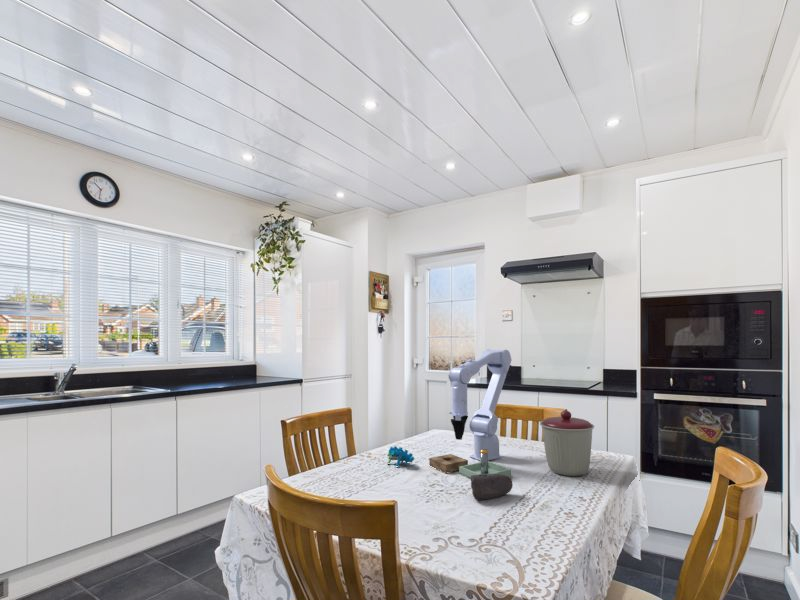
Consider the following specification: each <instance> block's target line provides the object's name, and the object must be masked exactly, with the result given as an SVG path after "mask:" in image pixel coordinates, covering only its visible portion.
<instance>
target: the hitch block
mask: <svg viewBox="0 0 800 600" xmlns="http://www.w3.org/2000/svg"><path fill="white" fill-rule="evenodd" d="M428 459H429V461H428V462H429V463H428V464H429V465H430V466H432V467H434V468H436V469H435V470H437V469H439V470H441V471H443V472H445V473H444V474H448V473H447V472H451V473H454V472H453V471H456V472H458V471H457V470H459V467H460V466H465V465H469V460H468V459H465V458H463V457H461V456H457V455H455V454H452V453H449V454H443V455H438V456H433V457H429V458H428ZM430 466H429V467H430ZM432 467H431V468H432ZM434 468H433V469H434ZM439 470H438V471H439ZM441 471H440V472H441ZM443 472H442V473H443Z"/></svg>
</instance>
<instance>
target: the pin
mask: <svg viewBox="0 0 800 600" xmlns="http://www.w3.org/2000/svg"><path fill="white" fill-rule="evenodd" d="M480 455H481V461H480V462H481V474H483V475H484V474H489V473H488V461H489V460H488V450H487V449H481V450H480Z"/></svg>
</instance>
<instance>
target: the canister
mask: <svg viewBox="0 0 800 600" xmlns="http://www.w3.org/2000/svg"><path fill="white" fill-rule="evenodd" d="M539 425H540V426H541V431H542V438H543V445H544V452H545V457H546V462H547V466H548V468H549V469H550V471H552V472H553V473H556V474H558V475H561V476H567V477H579V476H584V475H585V474H587V473H588V471H589V470H590V463H591V455H592V442H593V430H594V429H595V425H594V424H593V423H592V422H589V420H586V419H583V418H579V417H578V418H577V417H572V413H571V411H569V410H562V411H561V412H560V416H552V417H547V418H544V419H543V420H541V421H540V422H539Z"/></svg>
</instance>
